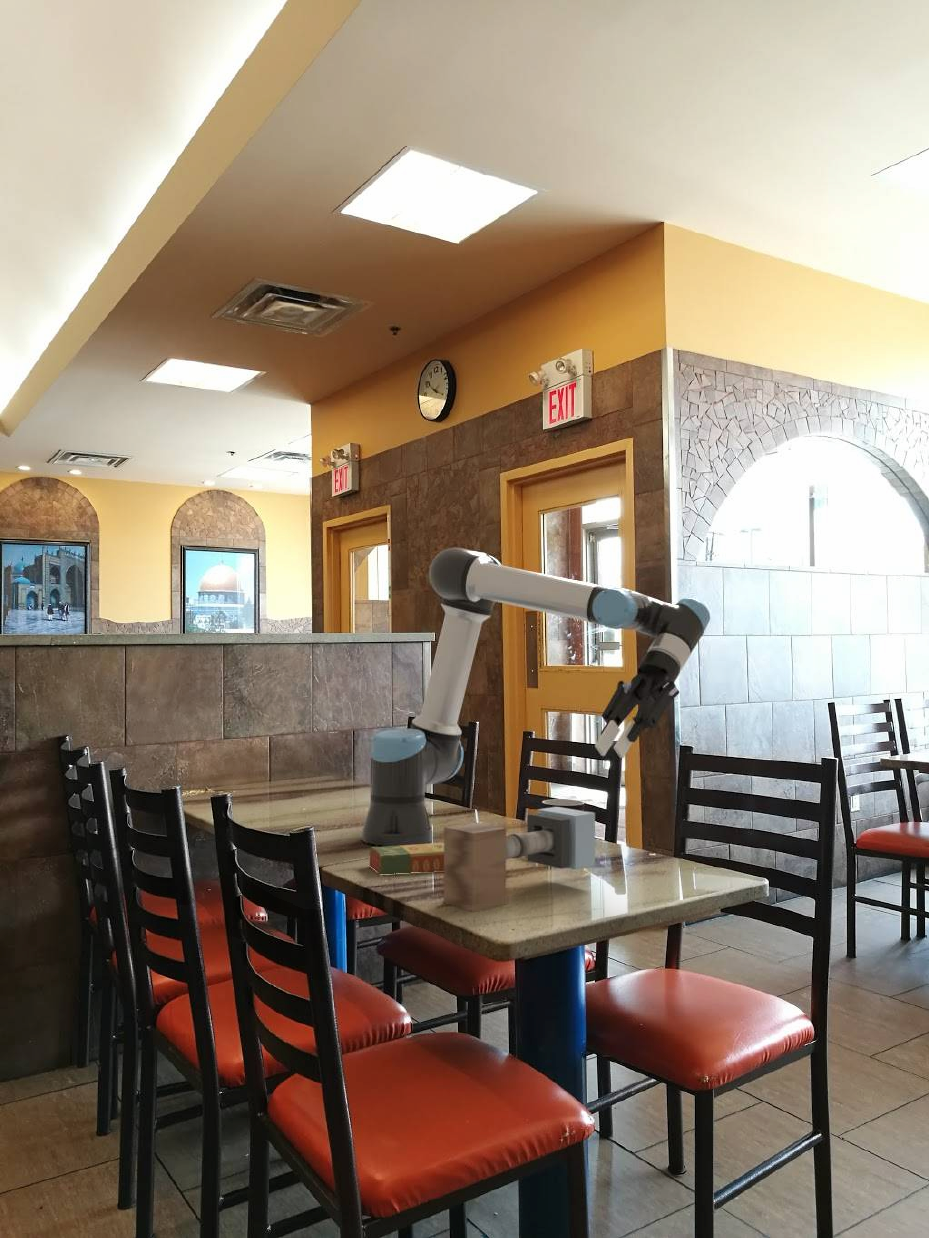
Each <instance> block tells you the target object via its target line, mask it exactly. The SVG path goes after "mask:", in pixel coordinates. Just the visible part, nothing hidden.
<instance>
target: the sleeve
mask: <svg viewBox="0 0 929 1238" xmlns="http://www.w3.org/2000/svg"><path fill="white" fill-rule="evenodd" d="M537 814H543V815H548V816H554V817H560V818H566V819H570V824H569V867H566V868H568V869H572V870H579V869H585V868H589V867H594V866H596V812H593V811H585V810H584V811H580V810H573V809H567V808H561V807H552V808H545V809H543V808H539V809H537ZM547 829H553V828H548V827H543V826H542V830H547ZM547 853H552V854H554V850H552V851H547Z"/></svg>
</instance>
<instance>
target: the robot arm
mask: <svg viewBox="0 0 929 1238" xmlns="http://www.w3.org/2000/svg"><path fill="white" fill-rule="evenodd" d="M428 575H429V583H430V585H431V586H432V589H433V590H434V592H435V593H436V594H438V596H440V597H441V598H442V599H441V601H440V602H441V603H440V605H441V606H440V607H442V609H443V610H444V613H445V614H444V617H443V623H442V626H441V630H440V634H439V635H440V636H439V640H438V643H437V647H436V651H435V655H434V659H433V662H432V663H433V664H432V666H431V667H432V668H431V670H430V675H429V681H428V683H427V688H426V692H425V696H424V701H423V703H422V704H423V705H422V707H421V708H422V709H421V712H420V715H417V716H416V717H415V718H413V719H412V720H411V721H412V722H411V725H410V728H397V729H393V730H392V729H389V730H384V731H381V732H378V733H376V734H375V735H373V737H372V739H371V747H370V752H369V756H370V805H369V808H368V811H367V814H366V817H365V821H364V825H363V827H362V829H361V841H362V840H363V841H364V842H367V843H370V844H369V845H371V844H375V845H374V846H378V845H382V846H381V847H385V846H399V845H413V844H428V843H432V841H433V828H432V825H431V822H430V818H429V815H428V811H427V808H426V804H425V802H426V801H425V798H426V797H425V793H426V792H425V789H426V788H425V787H426V786H429V785H430V786H431V785H437V784H441V783H443V782H445V781H447V780H449V779H451V778H452V777H454V776H455V775H456V774H457V773H458V772H459V770H461V769H460V768H461V767H462V765H463V761H464V748H463V746H462V743H461V738H462V733H463V732H462V729H461V728H460V726H459V725H458V721H459V718H460V713H461V709H462V705H463V702H464V698H465V693H466V689H467V685H468V682H469V681H468V680H469V677H470V673H471V669H472V664H473V661H474V657H475V654H476V649H477V644H478V642H479V637H480V632H481V630H482V629H481V628H482V624H483V622H484V621H486V620H488V619H489V618H491V616H492V612H493V608H494V605H495V604H496V603H500V604H501V603H502V604H505V605H510V606H514V607H515V606H516V607H519V608H524V609H529V610H533V611H537V612H542V613H547V614H552V615H556V616H561V617H564V618H570V619H574V620H577V621H583V622H588V623H593V624H594V625H595V624H596V625H600V626H604V627H605V628H608V629H614V630H619V629H622V630H630V631H635V632H639V633H641V634H644V635H647V636H649V637H652V638H654V640H653V641H652V643H651V645H650V646H649V647H648V650H646V651H647V652H646V653H645V654H644V656H643V657H642V659H641V661H640V662H639V664H638V668H637V674H636V675H635V676H634V677H632V679H631V680H630V681H627V682H624V680H619V681H618V682H617V686H616V690H615V691H614V694H613V695H612V697H611V699H610V700H609V702H608V703H607V705H606V708H605V709H604V711H602V714H601V717H602V718H603V720H604V722H605V725H604V727H603V729H602V730H601V732H600V737H599V738H598V740H597V741H596V743H595V744H594V747H595V749H596V751H598V753H599V754H600V756H601V757H605V756H606V755H607V753H608V751H609V749H610V747H611V746H612V744H613V743H614V742H615V739H616V738H617V736H618V735H619V733H620V731H621V729H620V728H619V727H620V726H621V725H622V723H624V721H625V719H627V717H628V716H629V715H630V714H631V712H632V711H633V710H634V709H635V707H637V706H638V709H637V712H636V715H635V716H633V717H632V718H631V719H632V721H629V722H627V725H626V726H625V728H624V730H623V731H622V733H621V735H620V736H619V738H618V739H617V741H616V743H615V745H614V746H613V750H614V752H616V754H617V755H618V757H619V758H621V759H624V758H625V756H626V754H627V753H628V751H629V749H630V748H631V746H632V744H633V743H635V742H636V741H637V740H638V738H639V736H640V734H641V733H642V732H643V731H645V730H646V729H650V730H652V729H654V728H655V727H656V725H657V724H658V722H659V721H660V719H662V716H663V715H664V713H666V712H665V711H666V710H667V709H668V707H669V706H670V704H671V702H672V701H673V700H674V699H675V698H677V696H678V695H679V694H680V690H679V689H678V688H677V685H676V684H675V682H676V680H677V679H678V677H679V675H680V673H681V671H682V670H683V668H684V666H685V665H686V663H687V661H688V659H689V658H690V656H691V654H692V652H693V651H694V649H695V648H696V646H697V644H698V643H699V641H700V640H701V638H702V637H703V636H704V635H705V631H706V629H707V627H708V624H709V623H710V620H711V614H710V611H709V609H708V607H707V606H706V605H705V604H704V603H703V602H701V601H700V600H698V599H695V598H692V597H689V598H686V597H684V598H681V599H679V600H678V602H676V603H675V604H672V603H670V602H669V603H668V602H666V601H662V600H659V599H657V598H653V597H651V596H648V595H645V594H643V593H639V592H638V591H635V590H632V589H627V588H623V587H622V588H617V587H609V586H605V585H598V584H595V583H590V582H584V581H581V580H575V579H569V578H565V577H561V576H555V575H550V574H545V573H540V572H535V571H530V570H527V569H526V570H525V569H521V568H516V567H510V566H506V565H503V564H501V562H500V561H499V560H498V559H497V558H495V557H493V556H492V555H490V554H488V553H485V552H483V551H476V550H470V549H466V548H462V547H450V548H445V549H444V550H442V551H440V552H439V553H438V554H437V555H436V556H435V557H434V558H433V559H432V561H431V564H430V566H429V573H428ZM363 841H362V842H363ZM364 842H363V843H364ZM367 843H366V844H367Z"/></svg>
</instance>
